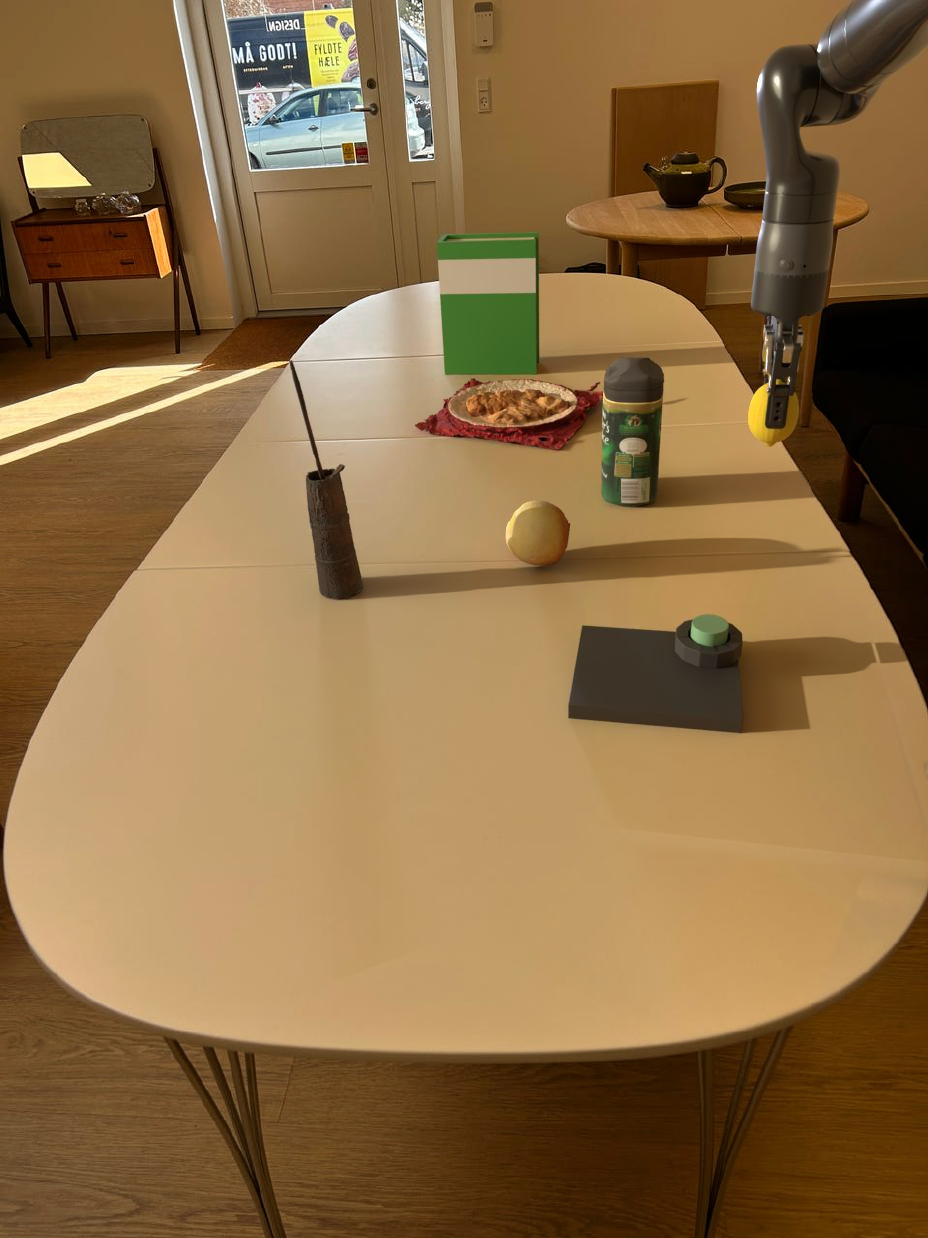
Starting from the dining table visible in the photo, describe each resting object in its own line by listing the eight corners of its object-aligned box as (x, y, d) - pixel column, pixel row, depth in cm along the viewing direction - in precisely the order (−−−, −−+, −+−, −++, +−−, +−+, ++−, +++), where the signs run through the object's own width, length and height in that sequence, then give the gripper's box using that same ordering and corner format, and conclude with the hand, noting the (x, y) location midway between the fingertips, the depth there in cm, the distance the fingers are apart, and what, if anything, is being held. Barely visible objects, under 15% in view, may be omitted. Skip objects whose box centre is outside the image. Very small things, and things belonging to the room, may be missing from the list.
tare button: (726, 629, 95) (728, 615, 94) (727, 649, 92) (729, 634, 91) (690, 627, 96) (691, 612, 95) (690, 646, 93) (691, 632, 92)
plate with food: (472, 388, 173) (471, 369, 171) (606, 398, 162) (606, 379, 161) (413, 435, 155) (410, 415, 153) (558, 450, 145) (558, 429, 143)
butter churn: (372, 559, 118) (346, 337, 103) (396, 594, 111) (372, 359, 96) (301, 576, 115) (264, 350, 100) (321, 612, 108) (284, 374, 93)
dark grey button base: (737, 647, 98) (741, 619, 96) (743, 734, 86) (748, 704, 84) (582, 636, 101) (582, 609, 99) (568, 718, 89) (568, 689, 87)
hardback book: (539, 362, 183) (538, 231, 170) (536, 374, 177) (535, 240, 164) (450, 362, 186) (443, 234, 173) (444, 374, 180) (436, 242, 167)
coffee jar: (601, 479, 135) (605, 351, 125) (656, 480, 134) (665, 351, 124) (598, 508, 127) (602, 374, 117) (657, 510, 126) (666, 375, 116)
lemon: (776, 459, 106) (786, 390, 102) (735, 447, 109) (742, 380, 105) (803, 445, 109) (813, 377, 105) (761, 434, 112) (769, 368, 108)
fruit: (523, 542, 120) (522, 485, 116) (581, 557, 116) (582, 498, 112) (492, 568, 115) (490, 509, 110) (552, 584, 111) (552, 524, 106)
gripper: (837, 279, 92) (813, 442, 101) (821, 250, 104) (801, 398, 113) (758, 279, 93) (741, 440, 102) (751, 251, 105) (736, 397, 114)
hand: (772, 417), depth 107 cm, fingers closed on lemon, 5 cm apart
